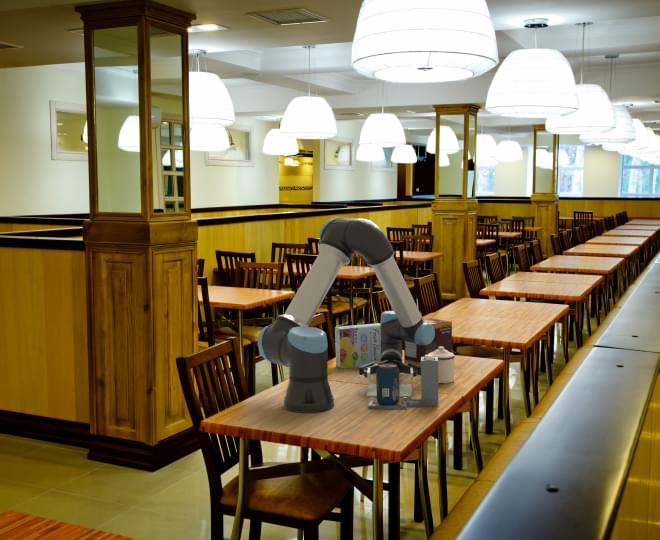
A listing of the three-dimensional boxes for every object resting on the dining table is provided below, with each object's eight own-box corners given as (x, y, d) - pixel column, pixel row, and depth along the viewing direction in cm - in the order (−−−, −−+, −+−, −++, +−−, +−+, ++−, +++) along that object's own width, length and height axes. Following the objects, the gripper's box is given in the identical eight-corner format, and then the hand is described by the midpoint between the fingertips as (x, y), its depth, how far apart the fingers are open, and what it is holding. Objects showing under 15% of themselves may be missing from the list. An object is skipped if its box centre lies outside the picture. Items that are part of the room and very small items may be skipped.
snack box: (388, 361, 289) (387, 322, 287) (393, 364, 284) (393, 324, 282) (335, 366, 282) (334, 326, 281) (340, 369, 277) (339, 328, 276)
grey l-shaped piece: (370, 400, 235) (369, 355, 234) (437, 401, 233) (437, 356, 232) (368, 408, 226) (367, 362, 225) (438, 409, 224) (438, 363, 222)
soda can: (379, 400, 235) (379, 362, 234) (401, 401, 233) (401, 363, 232) (374, 406, 229) (373, 367, 228) (397, 407, 227) (396, 368, 226)
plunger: (425, 374, 230) (424, 354, 230) (433, 374, 230) (433, 354, 229) (425, 376, 228) (425, 356, 227) (433, 376, 227) (433, 356, 227)
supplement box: (452, 361, 286) (452, 320, 284) (423, 368, 277) (423, 325, 275) (433, 357, 294) (432, 317, 292) (403, 363, 285) (403, 322, 283)
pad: (368, 385, 253) (368, 384, 253) (411, 386, 251) (411, 384, 251) (366, 397, 239) (366, 395, 239) (411, 397, 237) (411, 395, 237)
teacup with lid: (458, 379, 260) (458, 345, 258) (449, 385, 252) (449, 350, 250) (425, 375, 265) (425, 342, 264) (415, 381, 257) (415, 347, 256)
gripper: (428, 372, 258) (430, 388, 237) (354, 372, 261) (350, 388, 240) (427, 351, 258) (430, 365, 237) (354, 350, 260) (350, 365, 239)
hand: (390, 376), depth 238 cm, fingers open, 13 cm apart
